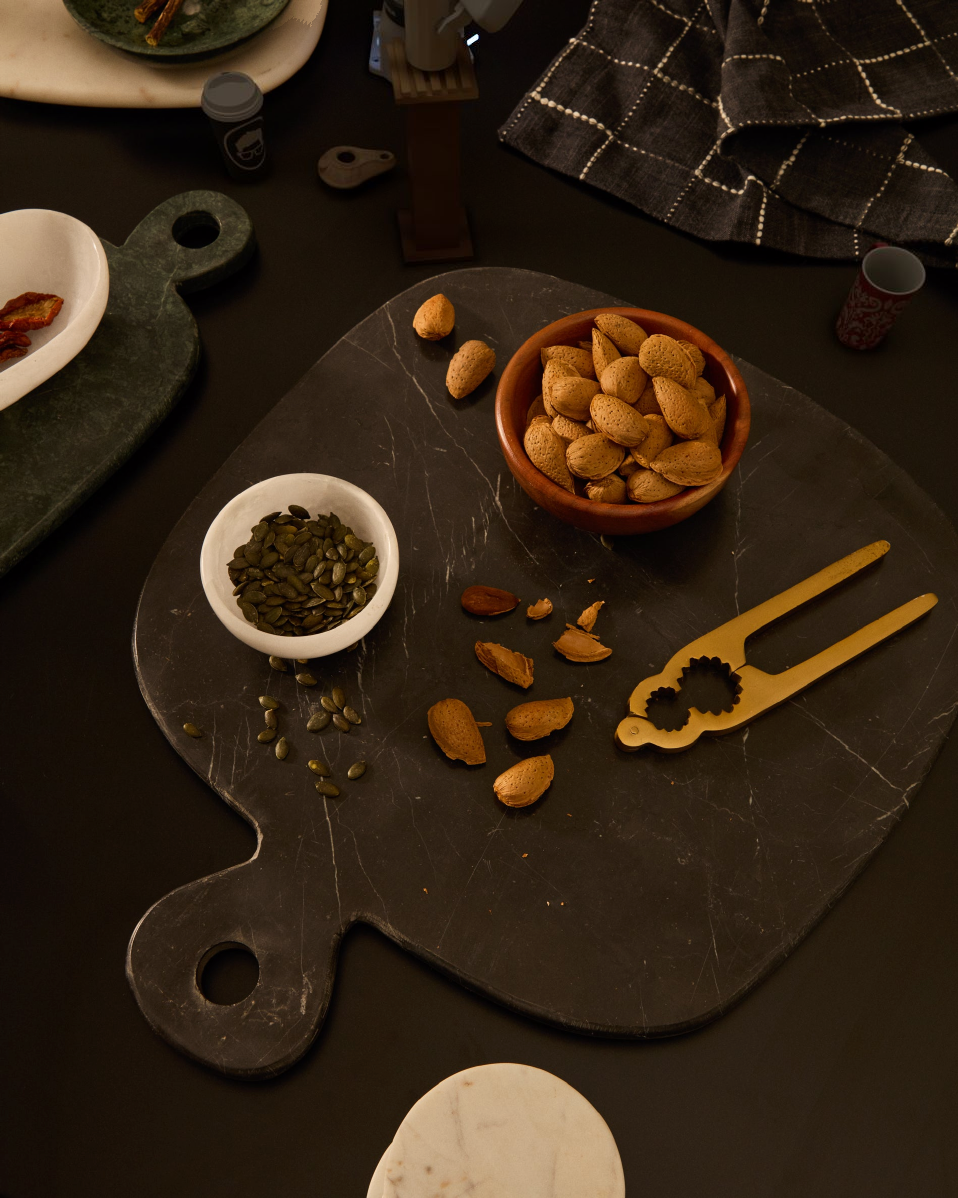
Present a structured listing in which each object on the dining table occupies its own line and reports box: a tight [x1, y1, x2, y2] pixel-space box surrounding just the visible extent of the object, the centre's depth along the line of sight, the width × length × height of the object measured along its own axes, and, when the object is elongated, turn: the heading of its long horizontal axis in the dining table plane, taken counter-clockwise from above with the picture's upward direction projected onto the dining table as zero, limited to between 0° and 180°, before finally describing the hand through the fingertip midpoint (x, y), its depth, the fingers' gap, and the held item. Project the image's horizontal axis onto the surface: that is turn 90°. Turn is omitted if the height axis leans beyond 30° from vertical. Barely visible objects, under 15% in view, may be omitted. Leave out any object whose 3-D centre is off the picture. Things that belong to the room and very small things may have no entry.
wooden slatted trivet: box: [386, 32, 479, 106], centre depth 130 cm, size 11×11×2 cm
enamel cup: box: [403, 0, 458, 71], centre depth 124 cm, size 7×7×10 cm
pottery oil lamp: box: [317, 145, 397, 190], centre depth 160 cm, size 9×12×7 cm
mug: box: [834, 241, 927, 351], centre depth 146 cm, size 13×9×14 cm
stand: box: [396, 100, 475, 267], centre depth 144 cm, size 11×11×30 cm
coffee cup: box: [200, 70, 269, 184], centre depth 156 cm, size 10×10×15 cm
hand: (426, 15), depth 124 cm, fingers closed on enamel cup, 7 cm apart
